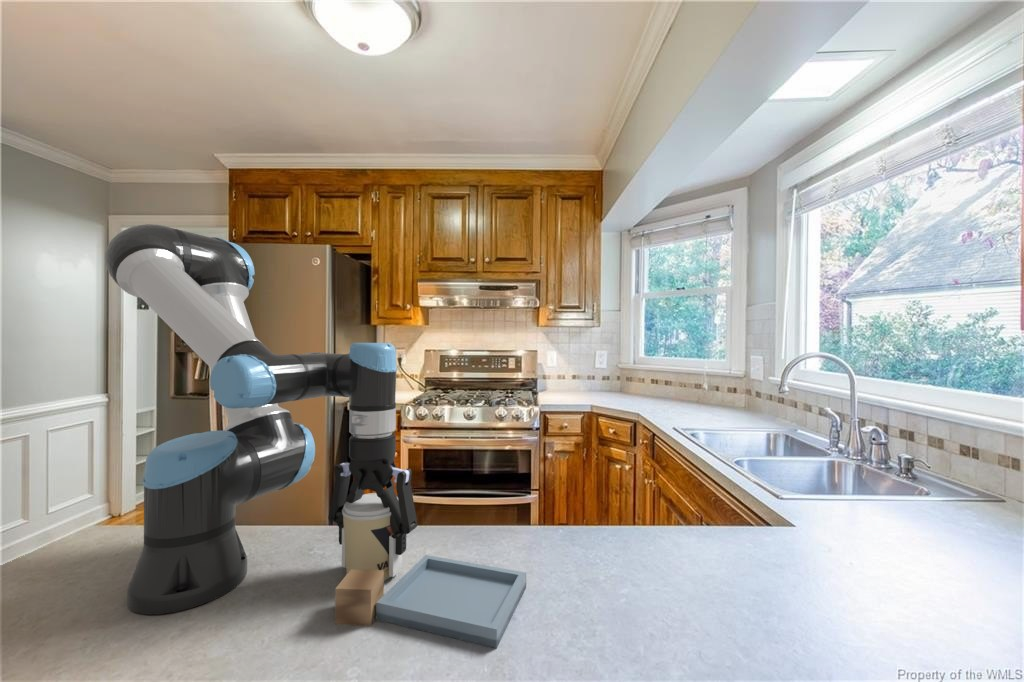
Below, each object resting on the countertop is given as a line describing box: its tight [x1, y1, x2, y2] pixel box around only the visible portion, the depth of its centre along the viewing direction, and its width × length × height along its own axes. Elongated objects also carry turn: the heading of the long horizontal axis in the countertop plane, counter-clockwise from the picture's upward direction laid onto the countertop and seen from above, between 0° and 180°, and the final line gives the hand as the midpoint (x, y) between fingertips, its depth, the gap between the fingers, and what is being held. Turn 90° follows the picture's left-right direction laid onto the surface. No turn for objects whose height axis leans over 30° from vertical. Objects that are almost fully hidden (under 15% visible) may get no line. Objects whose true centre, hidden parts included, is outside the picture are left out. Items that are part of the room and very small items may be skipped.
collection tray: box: [375, 554, 527, 649], centre depth 63 cm, size 18×14×2 cm
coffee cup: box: [342, 492, 398, 582], centre depth 71 cm, size 9×9×12 cm
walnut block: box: [334, 569, 385, 627], centre depth 61 cm, size 5×5×5 cm
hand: (371, 567), depth 71 cm, fingers closed on coffee cup, 9 cm apart
